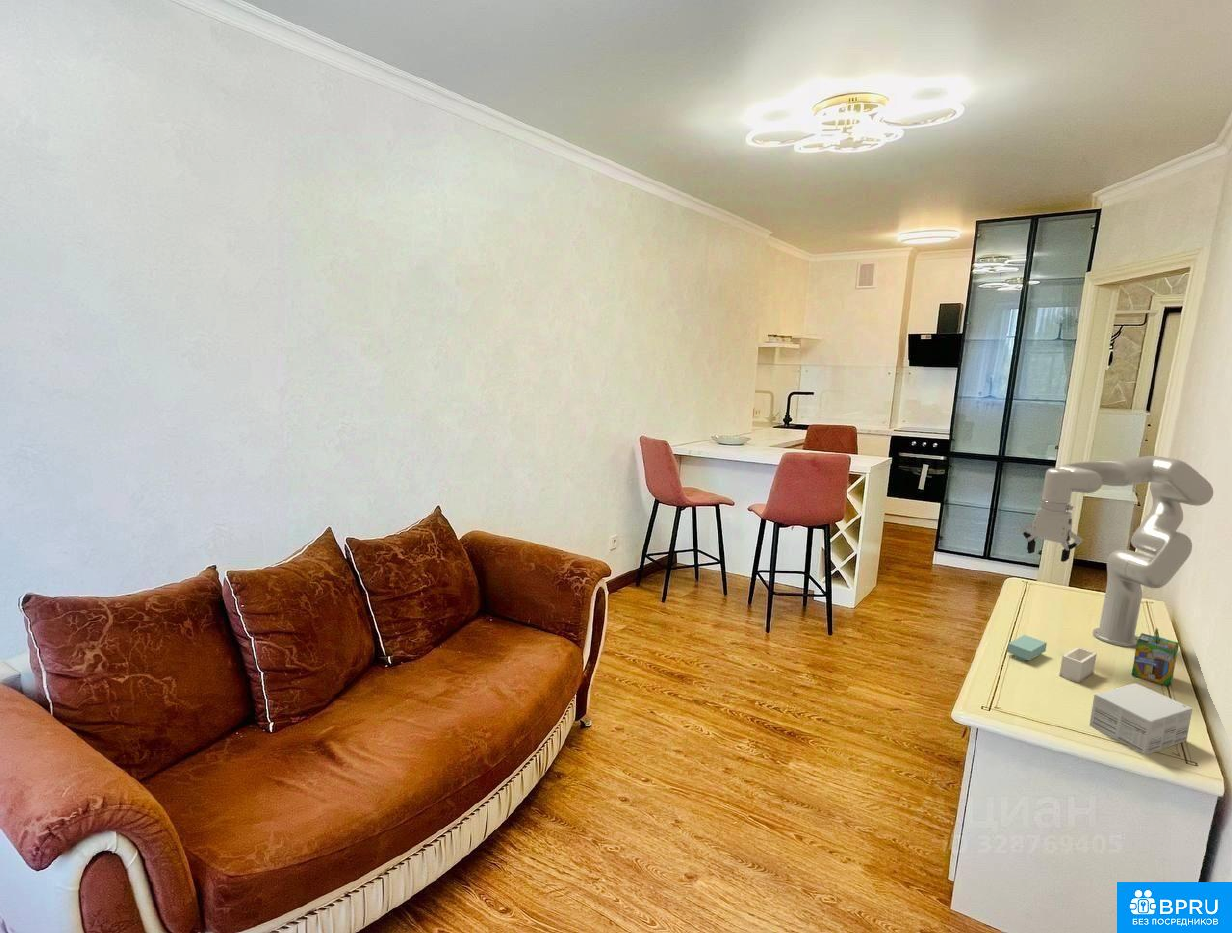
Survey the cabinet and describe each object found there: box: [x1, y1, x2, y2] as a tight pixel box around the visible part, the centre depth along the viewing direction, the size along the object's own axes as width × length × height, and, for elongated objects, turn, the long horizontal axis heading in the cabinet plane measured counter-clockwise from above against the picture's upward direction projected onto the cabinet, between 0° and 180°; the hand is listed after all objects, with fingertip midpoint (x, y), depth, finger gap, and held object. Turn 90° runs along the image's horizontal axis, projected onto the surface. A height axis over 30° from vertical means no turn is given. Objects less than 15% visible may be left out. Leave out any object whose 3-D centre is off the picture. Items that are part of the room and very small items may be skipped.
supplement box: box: [1089, 682, 1193, 756], centre depth 157 cm, size 17×13×9 cm
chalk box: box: [1131, 627, 1180, 687], centre depth 186 cm, size 9×9×15 cm
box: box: [1058, 646, 1097, 684], centre depth 187 cm, size 11×5×6 cm, turn 124°
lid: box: [1006, 634, 1048, 662], centre depth 198 cm, size 12×6×4 cm, turn 124°
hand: (1047, 556), depth 203 cm, fingers open, 9 cm apart
